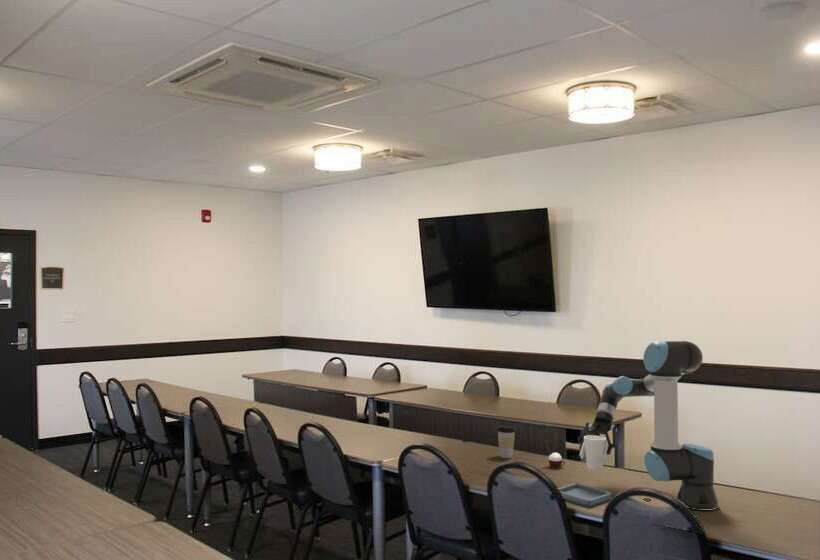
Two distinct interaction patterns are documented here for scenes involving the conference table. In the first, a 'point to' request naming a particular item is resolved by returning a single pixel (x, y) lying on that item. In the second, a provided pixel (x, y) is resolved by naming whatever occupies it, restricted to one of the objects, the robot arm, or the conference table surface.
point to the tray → (585, 495)
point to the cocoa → (554, 458)
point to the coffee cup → (506, 440)
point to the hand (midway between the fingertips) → (592, 458)
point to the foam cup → (594, 451)
